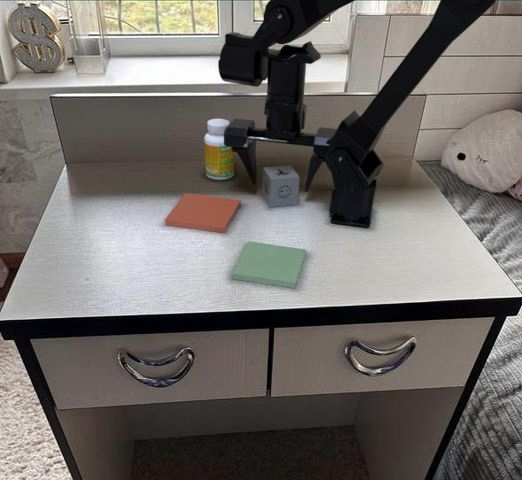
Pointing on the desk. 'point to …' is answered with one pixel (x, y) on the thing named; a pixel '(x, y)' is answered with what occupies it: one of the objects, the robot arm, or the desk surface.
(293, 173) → the dice cube
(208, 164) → the supplement bottle
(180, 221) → the terracotta mat
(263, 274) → the green mat
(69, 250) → the desk surface
